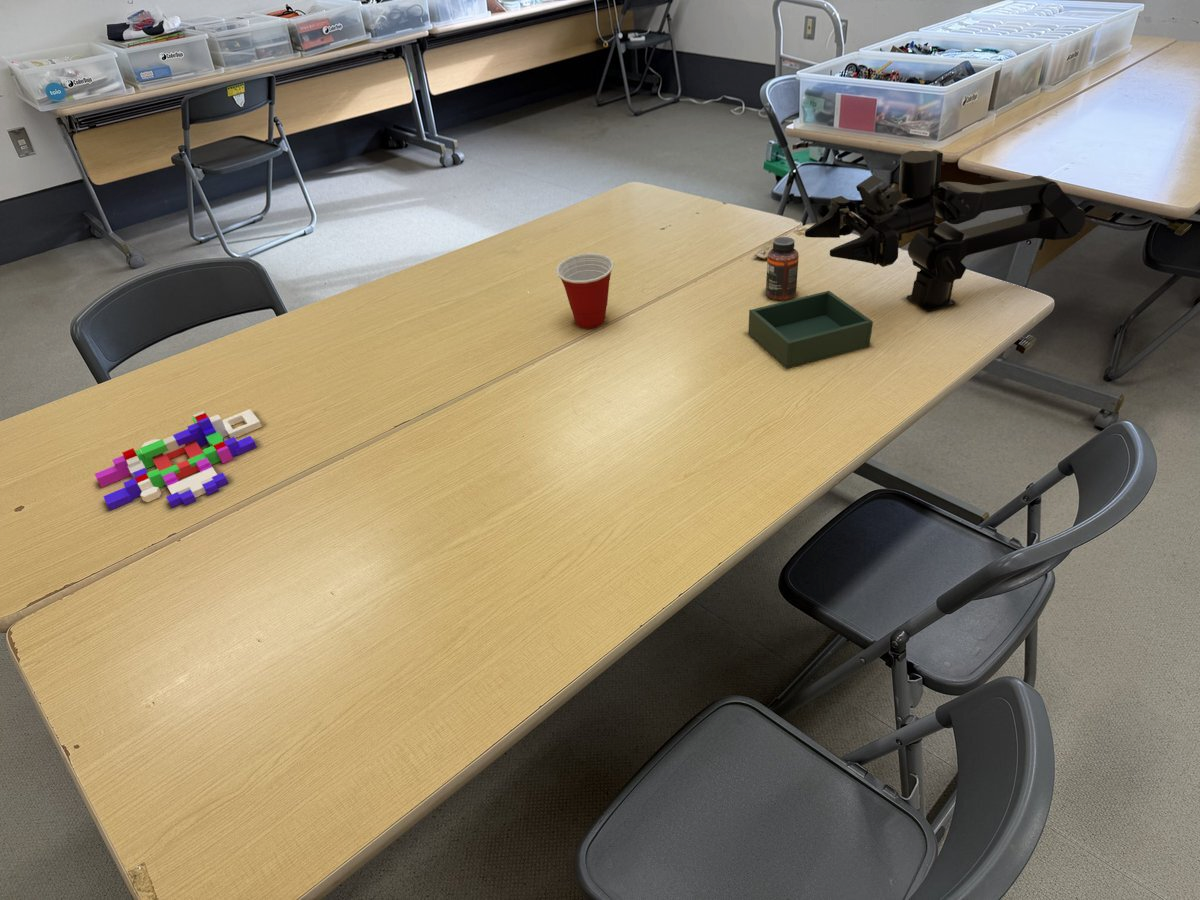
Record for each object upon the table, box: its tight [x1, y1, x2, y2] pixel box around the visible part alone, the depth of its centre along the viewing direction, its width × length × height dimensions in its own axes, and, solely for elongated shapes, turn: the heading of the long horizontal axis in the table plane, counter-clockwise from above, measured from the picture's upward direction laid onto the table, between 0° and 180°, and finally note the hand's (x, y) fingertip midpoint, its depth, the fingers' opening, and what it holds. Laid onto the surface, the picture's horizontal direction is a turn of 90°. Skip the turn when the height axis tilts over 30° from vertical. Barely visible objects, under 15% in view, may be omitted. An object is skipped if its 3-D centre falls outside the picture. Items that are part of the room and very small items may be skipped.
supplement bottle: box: [765, 236, 800, 301], centre depth 153 cm, size 6×6×11 cm
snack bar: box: [754, 240, 774, 260], centre depth 172 cm, size 10×2×3 cm
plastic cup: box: [555, 252, 614, 330], centre depth 149 cm, size 11×11×12 cm
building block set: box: [94, 408, 263, 511], centre depth 124 cm, size 25×20×4 cm
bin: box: [747, 290, 874, 369], centre depth 140 cm, size 17×14×5 cm
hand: (817, 243), depth 136 cm, fingers open, 9 cm apart
